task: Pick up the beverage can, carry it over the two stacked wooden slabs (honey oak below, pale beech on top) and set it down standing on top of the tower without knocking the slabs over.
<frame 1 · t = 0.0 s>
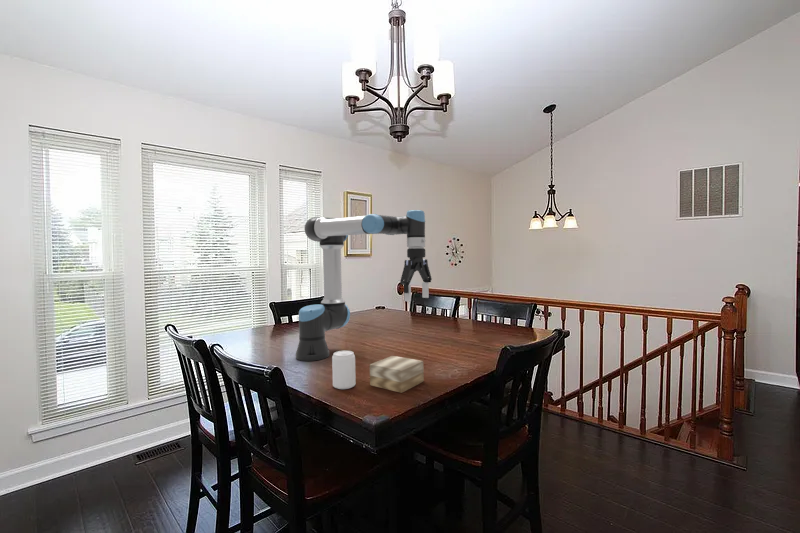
hand: (416, 299, 160), 28 cm above the table, fingers open, 13 cm apart
beverage can: (344, 386, 139), on the table
top slab: (396, 373, 141), point 3 cm above the table, touching bottom slab
bottom slab: (397, 384, 141), on the table, touching top slab
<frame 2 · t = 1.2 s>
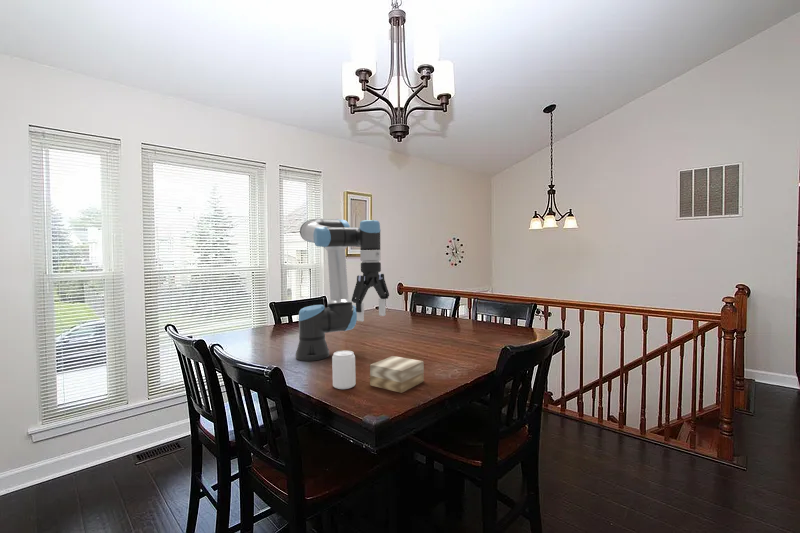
hand: (371, 318, 146), 23 cm above the table, fingers open, 13 cm apart
nothing on the table moved.
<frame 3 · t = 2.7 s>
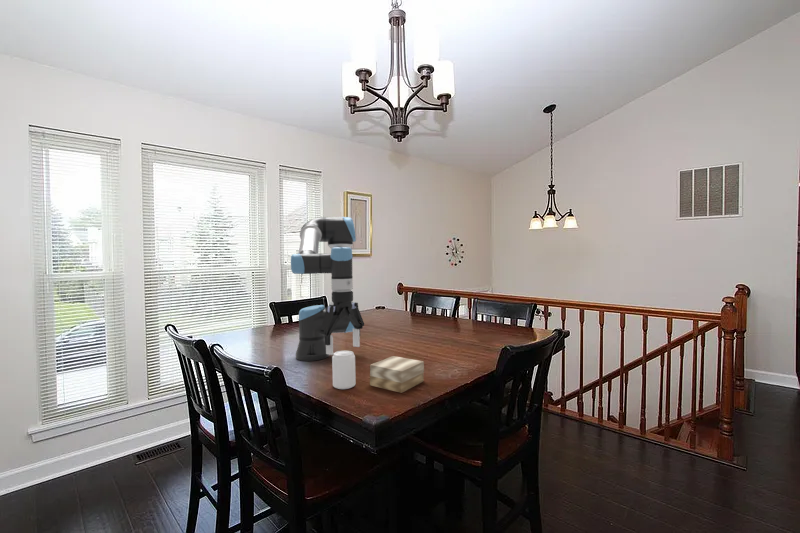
hand: (343, 350, 138), 13 cm above the table, fingers open, 13 cm apart
nothing on the table moved.
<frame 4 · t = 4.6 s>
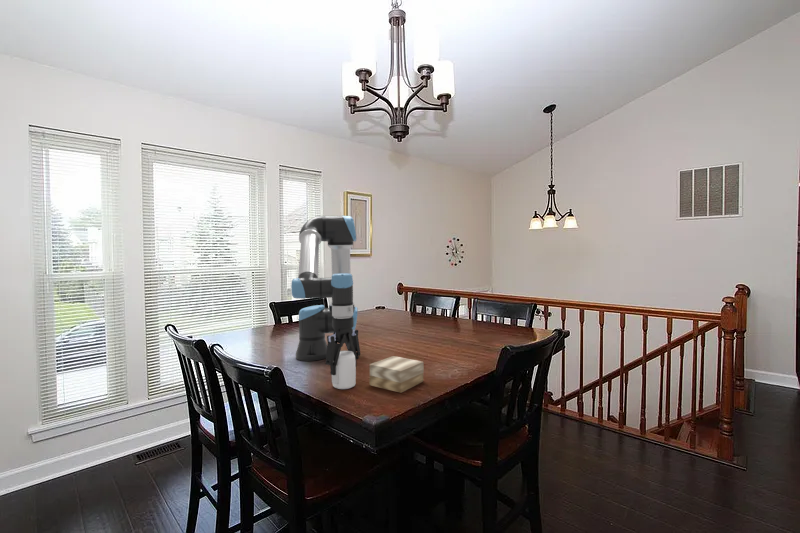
hand: (344, 379, 138), 2 cm above the table, fingers closed on beverage can, 8 cm apart
beverage can: (344, 386, 139), on the table, touching gripper
everything else where it was.
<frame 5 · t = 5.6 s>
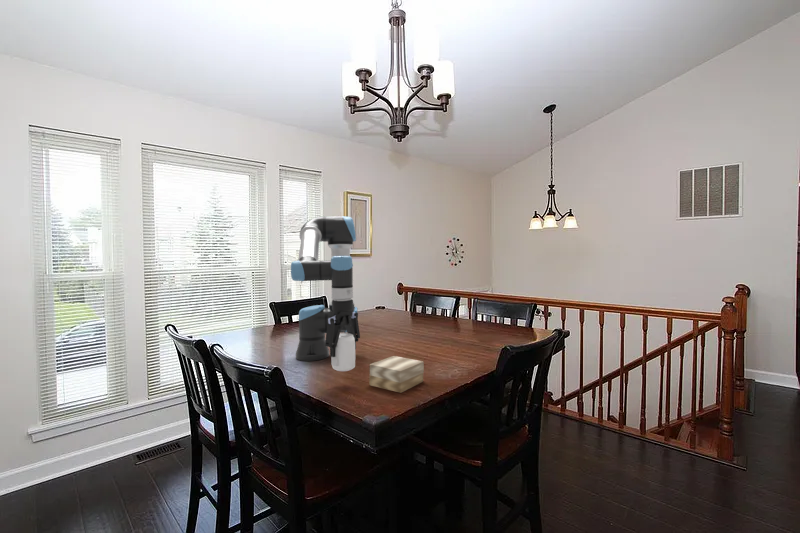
hand: (343, 362, 139), 9 cm above the table, fingers closed on beverage can, 8 cm apart
beverage can: (343, 368, 139), point 6 cm above the table, touching gripper
everything else where it was.
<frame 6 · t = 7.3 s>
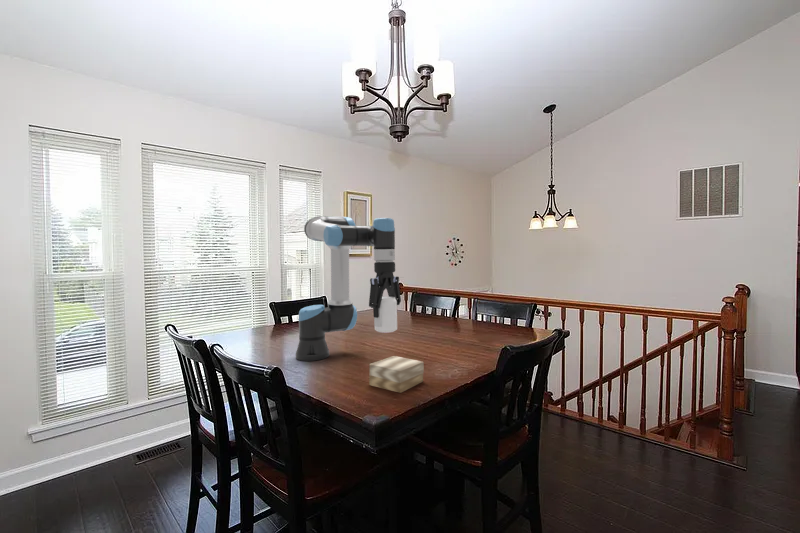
hand: (385, 324, 139), 22 cm above the table, fingers closed on beverage can, 8 cm apart
beverage can: (386, 331, 139), point 19 cm above the table, touching gripper
everything else where it was.
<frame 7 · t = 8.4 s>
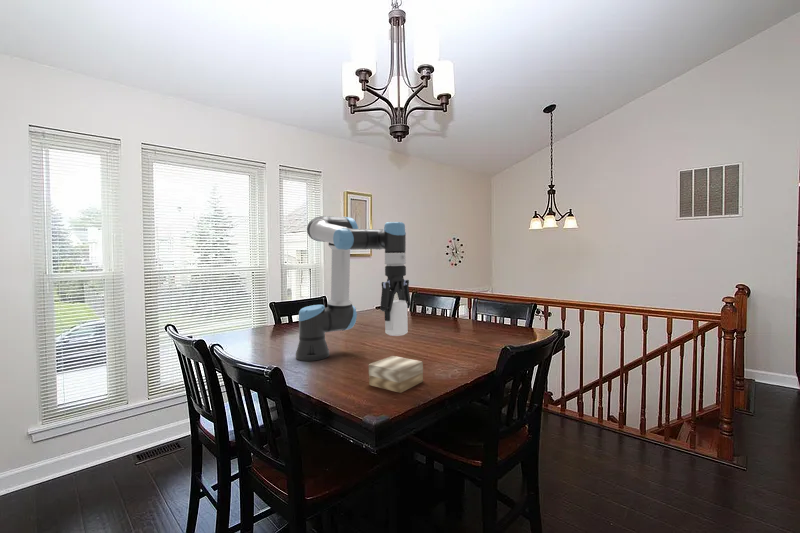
hand: (396, 327, 140), 20 cm above the table, fingers closed on beverage can, 8 cm apart
beverage can: (396, 334, 140), point 18 cm above the table, touching gripper
everything else where it was.
when the fingers open (11 cm above the table, at t = 11.8 s): beverage can moves 1 cm, resting on top slab.
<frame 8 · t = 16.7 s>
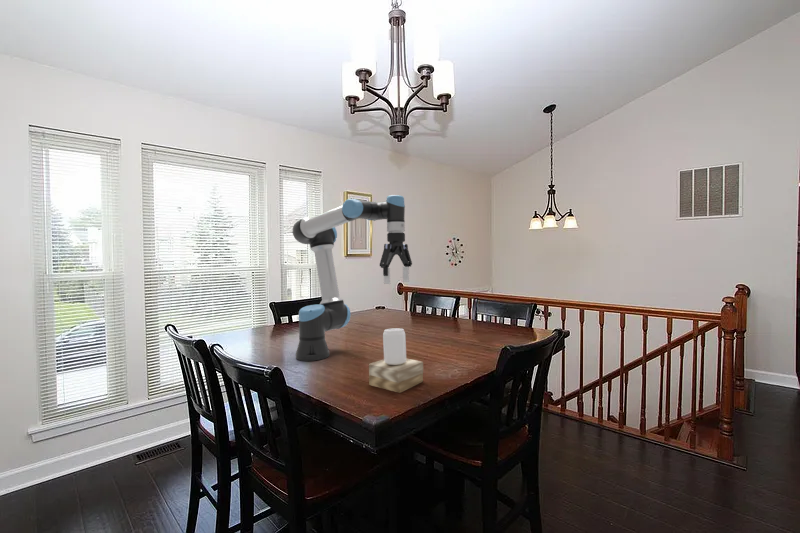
hand: (396, 282, 164), 35 cm above the table, fingers open, 13 cm apart
beverage can: (395, 363, 140), point 7 cm above the table, touching top slab
top slab: (396, 373, 141), point 3 cm above the table, touching beverage can, bottom slab
everything else where it was.
at the end: beverage can 0.8 cm from the top slab (horizontally); beverage can point 7.4 cm above the table; top slab moved 0.6 cm from its start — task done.
